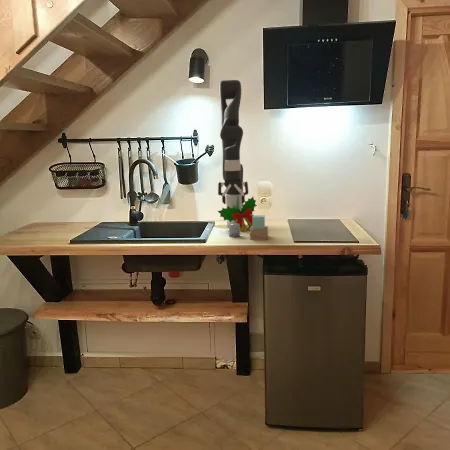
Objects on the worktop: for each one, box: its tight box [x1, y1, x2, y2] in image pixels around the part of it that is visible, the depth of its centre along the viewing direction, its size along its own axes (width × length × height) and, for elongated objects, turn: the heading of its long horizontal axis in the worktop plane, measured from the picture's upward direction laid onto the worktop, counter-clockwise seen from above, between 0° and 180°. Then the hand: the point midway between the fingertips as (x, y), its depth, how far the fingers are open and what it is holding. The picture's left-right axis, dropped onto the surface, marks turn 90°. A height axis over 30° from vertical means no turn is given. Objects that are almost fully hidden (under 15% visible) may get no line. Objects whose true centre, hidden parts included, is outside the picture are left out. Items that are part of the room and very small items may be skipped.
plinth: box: [249, 225, 269, 241], centre depth 209 cm, size 8×8×5 cm
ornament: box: [217, 196, 258, 232], centre depth 228 cm, size 21×8×15 cm, turn 96°
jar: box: [228, 223, 241, 238], centre depth 214 cm, size 5×5×6 cm
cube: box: [252, 214, 266, 229], centre depth 208 cm, size 6×6×6 cm
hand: (233, 203), depth 212 cm, fingers open, 8 cm apart
